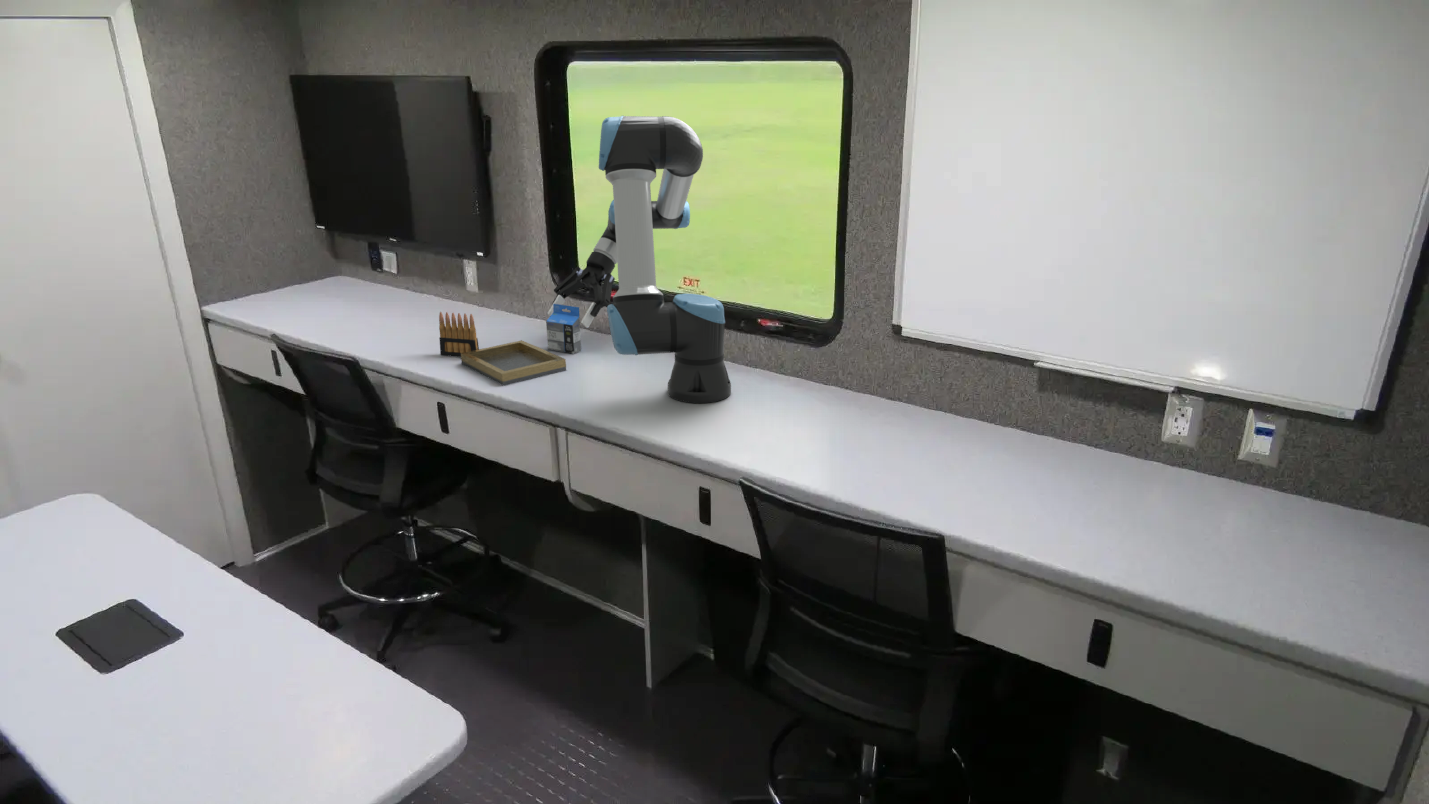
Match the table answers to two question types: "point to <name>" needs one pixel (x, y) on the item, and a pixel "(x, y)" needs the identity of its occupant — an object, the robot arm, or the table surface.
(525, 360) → the shallow wooden tray
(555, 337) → the blue and grey box
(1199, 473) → the table surface
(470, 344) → the ammunition clip
